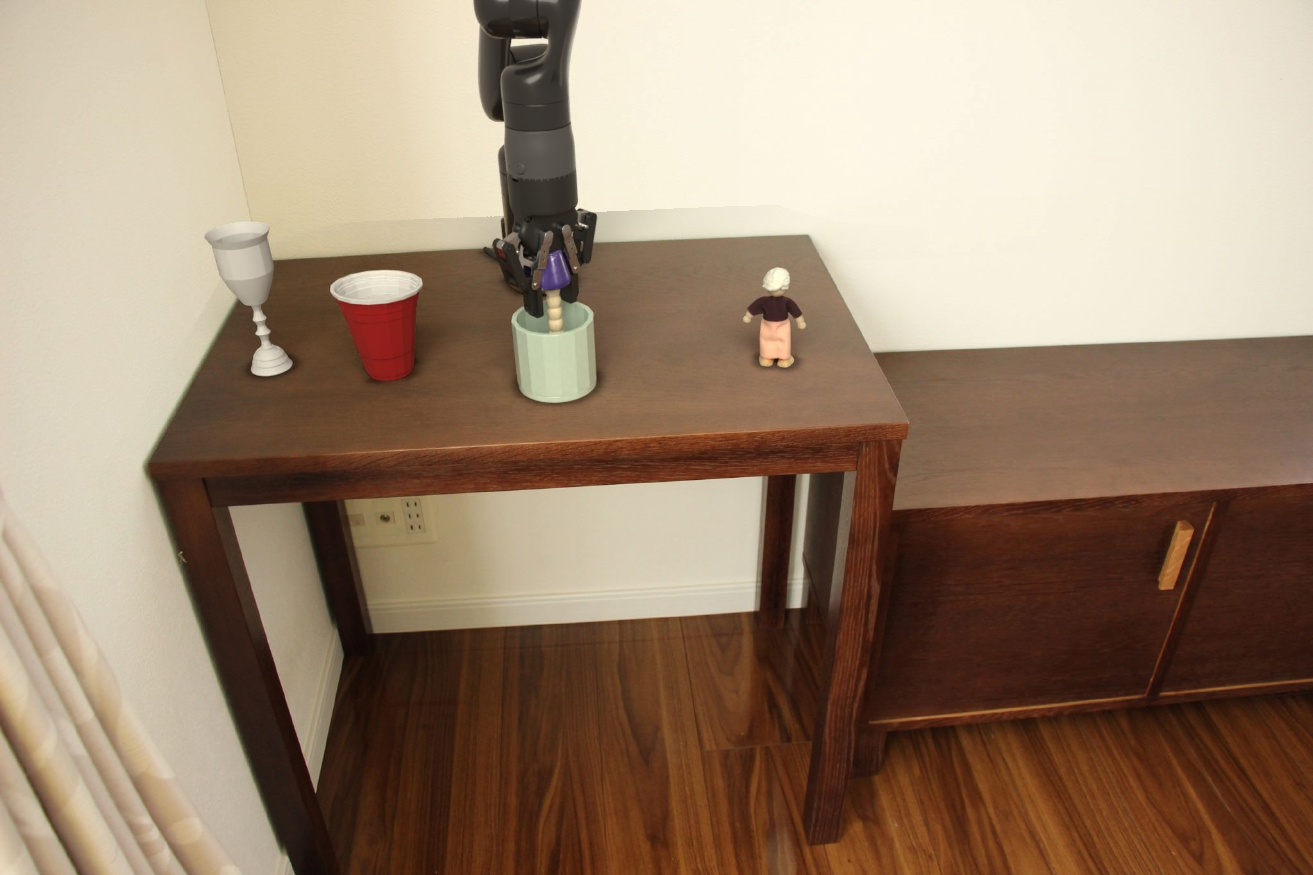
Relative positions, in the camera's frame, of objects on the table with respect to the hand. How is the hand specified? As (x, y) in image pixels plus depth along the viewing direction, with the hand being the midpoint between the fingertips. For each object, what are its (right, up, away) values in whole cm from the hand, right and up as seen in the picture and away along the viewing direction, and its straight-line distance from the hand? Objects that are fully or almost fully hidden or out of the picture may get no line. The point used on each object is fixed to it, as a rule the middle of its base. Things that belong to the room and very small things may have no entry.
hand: (552, 307), depth 116 cm
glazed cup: (0, -8, +6) cm, 10 cm away
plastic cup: (-21, -7, +9) cm, 24 cm away
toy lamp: (0, -8, +5) cm, 10 cm away
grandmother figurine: (+27, -6, +9) cm, 29 cm away
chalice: (-37, -6, +10) cm, 39 cm away
